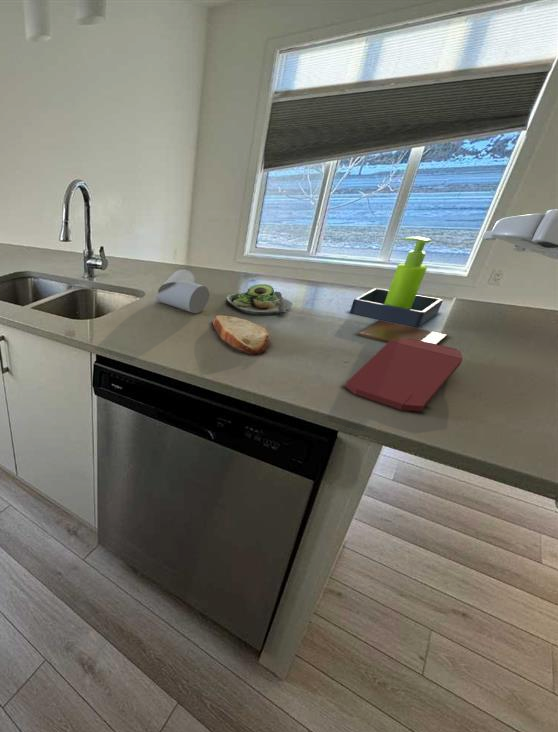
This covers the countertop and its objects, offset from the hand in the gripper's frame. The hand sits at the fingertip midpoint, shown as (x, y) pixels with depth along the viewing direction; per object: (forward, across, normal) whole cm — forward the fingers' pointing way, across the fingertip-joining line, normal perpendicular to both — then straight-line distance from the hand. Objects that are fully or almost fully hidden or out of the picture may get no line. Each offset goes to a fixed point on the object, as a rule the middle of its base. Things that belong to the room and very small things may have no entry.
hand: (501, 241), depth 96 cm
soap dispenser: (+12, +6, +21) cm, 25 cm away
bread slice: (+10, +49, +38) cm, 63 cm away
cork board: (-1, +14, +27) cm, 31 cm away
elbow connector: (+39, +54, +32) cm, 74 cm away
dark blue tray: (+12, +6, +20) cm, 25 cm away
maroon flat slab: (-18, +28, +37) cm, 50 cm away
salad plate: (+29, +35, +27) cm, 53 cm away
